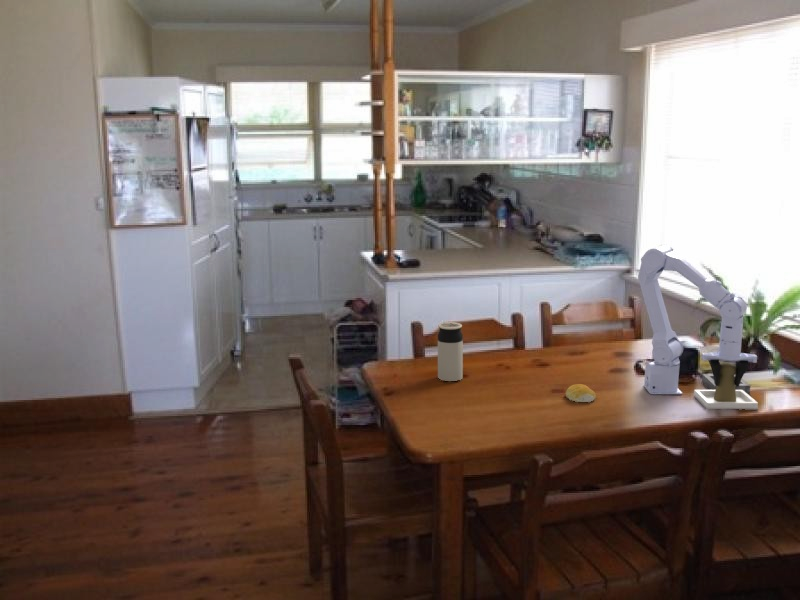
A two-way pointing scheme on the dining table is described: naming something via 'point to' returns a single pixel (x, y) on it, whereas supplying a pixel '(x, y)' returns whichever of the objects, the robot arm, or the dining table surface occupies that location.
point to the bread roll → (580, 393)
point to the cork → (726, 383)
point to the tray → (710, 404)
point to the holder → (709, 382)
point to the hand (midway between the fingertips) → (726, 385)
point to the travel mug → (450, 351)
